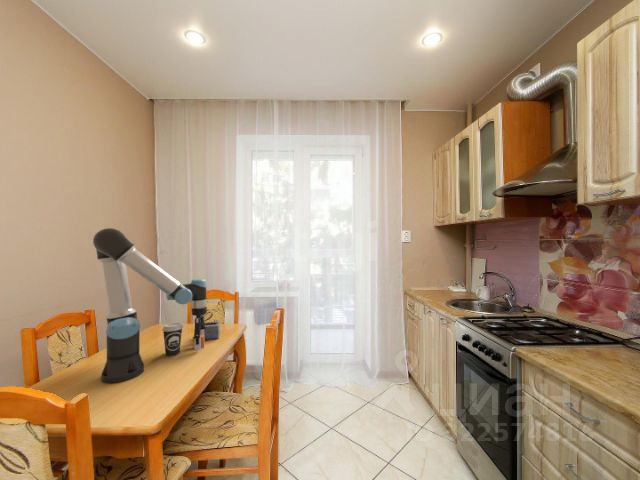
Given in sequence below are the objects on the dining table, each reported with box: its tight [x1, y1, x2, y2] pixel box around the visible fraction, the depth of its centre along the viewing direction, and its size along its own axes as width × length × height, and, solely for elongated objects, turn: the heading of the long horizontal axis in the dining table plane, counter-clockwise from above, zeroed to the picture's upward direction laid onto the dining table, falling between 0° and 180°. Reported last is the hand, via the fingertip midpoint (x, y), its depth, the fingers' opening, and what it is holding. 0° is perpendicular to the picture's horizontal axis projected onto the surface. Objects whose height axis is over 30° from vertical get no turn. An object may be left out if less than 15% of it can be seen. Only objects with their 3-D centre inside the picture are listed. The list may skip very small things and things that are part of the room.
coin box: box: [204, 320, 221, 341], centre depth 163 cm, size 10×10×8 cm
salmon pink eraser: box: [193, 335, 206, 350], centre depth 147 cm, size 2×5×6 cm, turn 106°
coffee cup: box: [161, 321, 184, 357], centre depth 139 cm, size 10×10×15 cm
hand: (199, 345), depth 147 cm, fingers open, 13 cm apart
